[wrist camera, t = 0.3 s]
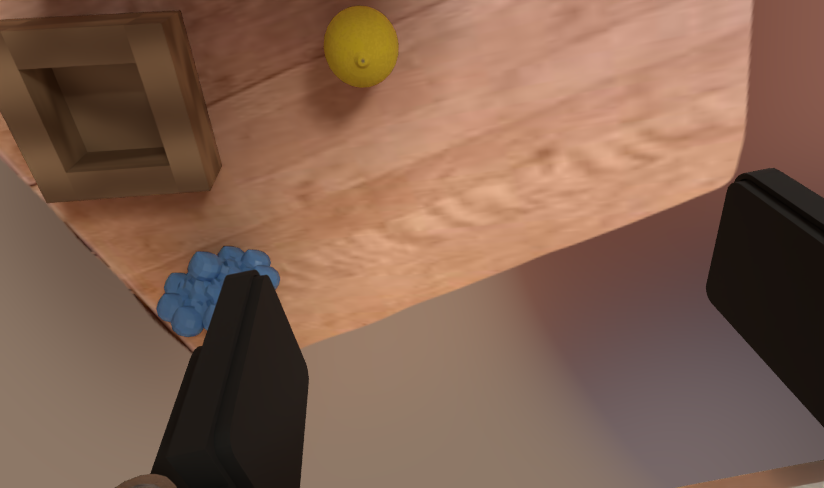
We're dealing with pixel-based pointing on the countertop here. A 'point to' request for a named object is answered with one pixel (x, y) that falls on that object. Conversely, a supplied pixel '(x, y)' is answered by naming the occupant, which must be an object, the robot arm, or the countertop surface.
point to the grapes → (206, 286)
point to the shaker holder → (106, 105)
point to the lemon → (361, 46)
